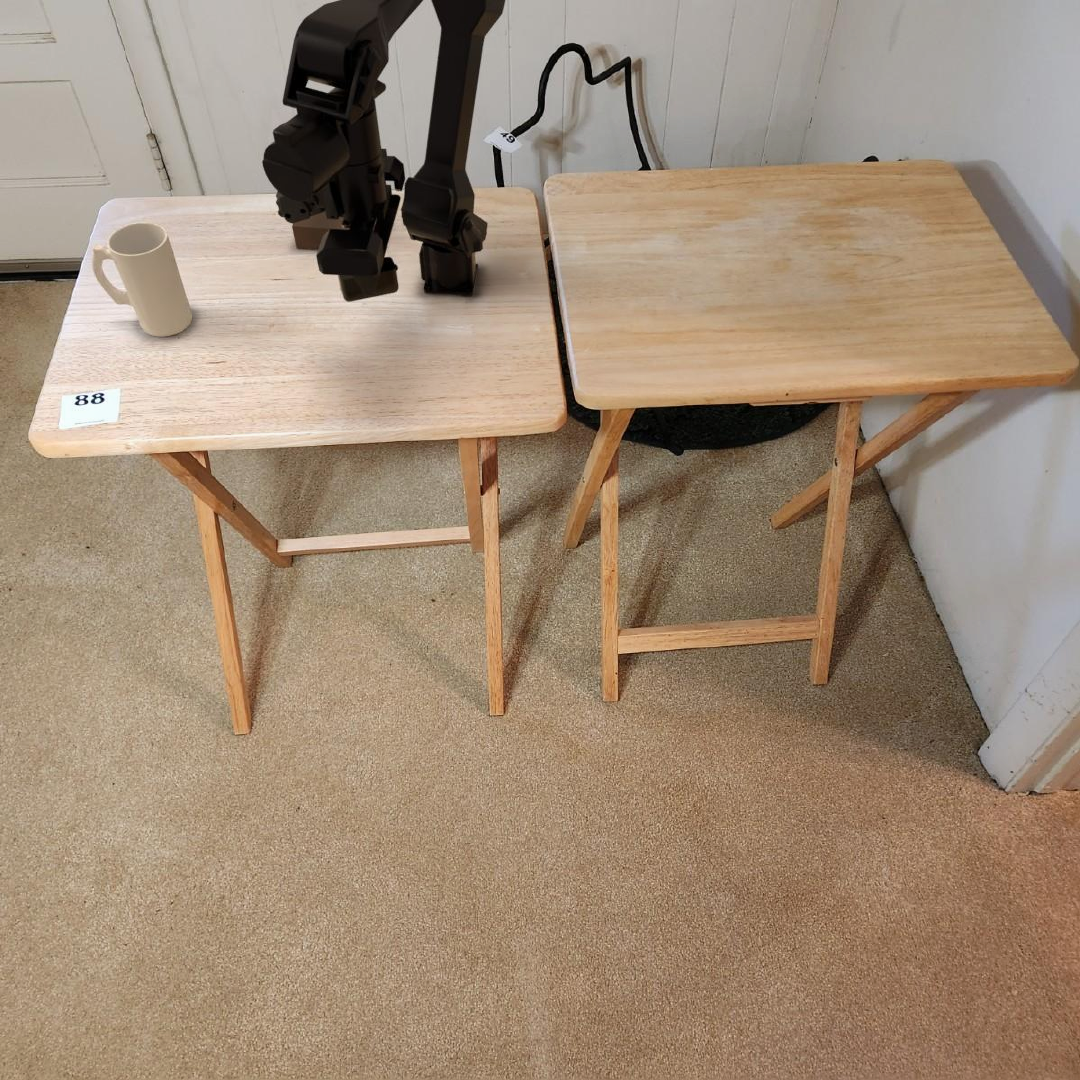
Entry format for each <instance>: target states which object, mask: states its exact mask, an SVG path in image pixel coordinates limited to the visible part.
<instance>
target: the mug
mask: <svg viewBox="0 0 1080 1080" xmlns="http://www.w3.org/2000/svg"><path fill="white" fill-rule="evenodd" d="M173 250H174V249H173V247H172V243H171V241H170V238H169V235H168V231H167V229H166V228H165V227H163V226H162V225H160V224H159V223H154V222H147V221H140V222H139V221H138V222H134V223H128V224H126V225H123V226H121V227H119V228H117V229H116V230H114V231H113V232H111V234H110V235H109V236H108V238H107V240H106V245H103V244H93V246H92V258H91V268H92V271H93V274H94V277H95V278H96V281H97V282H98V283H99V285H100V287H101V288H102V289H103V291H105V292H106V294H107V295H108V297H110V298H111V299H112V300H113V302H114V303H115V304H116V305H126V306H129V307H132V308H133V310H134V313H135V315H136V317H137V320H138V322H139V324H140V327H141V329H142V330H143V331H144V332H145V333H146V334H148V335H150V336H153V337H160V338H161V337H162V338H163V337H170V336H174V335H177V334H179V333H181V332H183V331H185V330H186V329H187V328H189V326H190V325H191V323H192V321H193V314H192V310H191V305H190V303H189V299H188V296H187V293H186V290H185V287H184V284H183V280H182V277H181V274H180V270H179V266H178V264H177V261H176V257H175V254H174V251H173ZM106 260H111V261H113V263H114V265H115V267H116V270H117V272H118V274H119V277H120V279H121V281H122V284H123V286H124V289H125V291H124V290H120V289H119V288H117V287H116V286H114V284H112V282H110V280H109V279H108V277H107V276H106V275H105V272H104V270H103V262H104V261H106Z"/></svg>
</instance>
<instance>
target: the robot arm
mask: <svg viewBox="0 0 1080 1080" xmlns="http://www.w3.org/2000/svg"><path fill="white" fill-rule="evenodd" d="M430 1H431V4H432V7H433V9H434V12H435V15H436V17H437V20H438V23H439V27H440V35H439V36H440V38H439V45H438V53H437V60H436V67H435V68H436V69H435V75H434V76H435V77H434V83H433V84H434V85H433V92H432V98H431V99H432V100H431V107H430V114H429V115H430V116H429V123H428V130H427V131H428V132H427V140H426V147H425V156H424V162H423V164H422V165H421V166H420V168H419V169H418V171H417V172H416V173H415V174H414V176H413V177H411V176H409V177H407V179H406V174H405V173H406V172H405V165H404V163H403V162H402V161H401V160H400V159H399V158H397V157H396V156H395V155H388V151H387V148H382V141H381V136H380V135H381V134H380V127H379V121H378V112H377V105H376V99H377V98H378V97H379V96H381V95H382V94H383V93H385V91H386V90H387V84H386V83H384V82H383V81H381V80H379V78H380V76H381V74H382V73H383V71H384V70H385V68H386V67H387V65H388V64H389V61H390V54H389V53H390V52H389V51H390V50H389V49H390V48H389V47H390V46H389V44H390V42H391V40H392V39H393V37H394V35H395V34H396V33H397V32H398V30H399V29H400V28H401V27H402V26H403V25H404V23H405V22H406V21H407V20H408V19H409V18H410V17H411V15H412V14H413V13H414V12H415V11H416V10H417V9H418V7H419V6H420V5H421V4H422V2H424V0H334V1H331V2H327V3H325V4H323V5H321V6H320V7H318V8H317V9H316V10H313V12H311V13H310V14H308V15H306V17H304V18H303V19H302V20H301V23H299V25H298V27H297V29H296V31H295V35H294V39H293V43H292V48H291V53H290V59H289V63H288V64H289V65H288V69H287V75H286V81H285V86H284V90H283V96H282V104H283V106H285V107H290V108H293V109H296V114H295V115H294V116H292V117H291V118H290V119H289V120H288V121H286V122H284V123H281V124H279V125H278V126H277V127H275V128H274V129H273V130H272V137H273V141H272V142H271V143H269V145H267V147H265V149H264V152H263V159H262V161H261V163H262V169H263V170H264V173H265V176H266V178H267V179H268V181H269V182H270V184H271V186H272V187H273V188H274V189H275V190H276V191H277V192H276V194H275V198H276V201H275V204H276V206H277V207H278V208H277V209H278V211H277V214H278V216H279V217H281V218H284V220H285V221H286V222H287V223H289V224H292V225H293V224H294V223H297V222H300V221H304V220H307V219H309V218H310V217H311V216H314V215H317V214H320V213H323V212H324V211H325V212H326V217H327V219H339V217H343V221H342V227H343V228H349V230H340V229H330V230H329V231H328V232H327V233H326V234H325V235H324V236H323V238H322V240H321V243H320V246H319V249H318V250H317V252H316V255H315V258H316V262H317V267H318V271H319V272H320V273H321V274H322V275H325V276H326V275H327V276H329V275H330V276H338V275H348V276H353V277H354V279H355V281H356V282H357V284H358V286H359V287H360V289H361V291H362V292H363V294H364V295H368V296H373V295H374V292H375V288H376V285H377V281H378V278H379V275H380V271H381V268H382V264H383V261H384V257H386V253H387V250H388V245H389V241H390V239H391V235H392V231H393V228H394V225H395V220H396V217H397V214H398V210H399V207H400V204H401V200H402V198H401V196H400V195H399V194H396V193H393V191H392V184H387V182H393V187H394V190H395V191H396V192H403V191H404V192H403V193H404V194H403V200H402V204H401V208H400V212H401V219H402V225H403V226H404V227H405V229H406V232H407V233H408V235H409V238H410V240H412V241H416V242H420V243H421V246H420V248H419V249H420V250H419V254H418V259H419V267H420V268H419V269H420V278H421V280H422V281H424V283H423V284H424V285H423V288H422V289H423V292H424V293H425V294H433V295H447V296H449V295H450V296H465V297H466V296H468V297H470V296H472V295H474V291H475V288H476V282H477V277H478V273H479V264H478V263H476V259H477V258H476V253H479V252H482V251H483V249H484V242H485V241H486V239H487V234H488V222H487V221H485V220H484V219H483V218H481V217H480V216H478V215H477V214H476V213H474V211H475V199H476V197H475V196H476V195H475V191H474V189H473V186H472V184H471V181H470V178H469V176H468V172H467V160H468V153H469V146H470V139H471V132H472V126H473V119H474V112H475V105H476V97H477V92H478V83H479V77H480V70H481V65H482V64H481V62H482V57H483V51H484V43H485V40H486V39H485V38H486V36H487V34H488V33H489V32H490V31H491V29H492V28H493V27H494V26H495V24H496V23H497V22H498V20H499V19H500V18H501V16H502V15H503V13H504V9H505V6H506V5H505V4H506V0H430ZM309 81H311V82H314V83H316V84H317V83H318V84H322V85H325V86H328V87H333V89H331V90H329V91H328V92H325V91H322V90H318V89H315V88H311V87H307V85H308V83H309ZM403 189H404V190H403Z"/></svg>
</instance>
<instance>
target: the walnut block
mask: <svg viewBox="0 0 1080 1080" xmlns="http://www.w3.org/2000/svg"><path fill="white" fill-rule="evenodd" d="M342 221H343V217H339V219H327V217H326V212H325V211H324V212H323V213H320V214H317V215H314V216H311V217H310V218H309V219H307V220H304V221H300V222H297V223H294V224H292V225H291V228H292V233H293V238H294V244H295V247H296V249H297V250H298V249H301V250H316V251H318V249H319V246H320V243H321V240H322V238H323V236H324V235H325V234H326V233H327V232H328V231H329V230H330V229H340V230H349V228H343V227H342Z"/></svg>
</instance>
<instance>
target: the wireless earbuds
mask: <svg viewBox="0 0 1080 1080" xmlns="http://www.w3.org/2000/svg"><path fill="white" fill-rule="evenodd" d="M398 269H399V266H398V265H397V264H396V263H395V261H394V260H393V258H392V257H391V256H385V257H384V261H383V264H382V268H381V271H380V275H379V278H378V281H377V285H376V288H375V292H374V295H373V296H368V295H364V294H363V292H362V291H361V289H360V287H359V286H358V284H357V282H356V281H355V279H354V277H353V276H348V275H337V278H338V283H339V289H340V291H341V292H340V293H341V294H342V297H343V299H344V301H345V302H347V303H351V302H355V301H357V302H358V301H362V300H366V299H371V298H376V297H380V296H385V295H391V294H395V293H397V292H398V291H399V287H400V286H399V281H398V273H397V271H398Z"/></svg>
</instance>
